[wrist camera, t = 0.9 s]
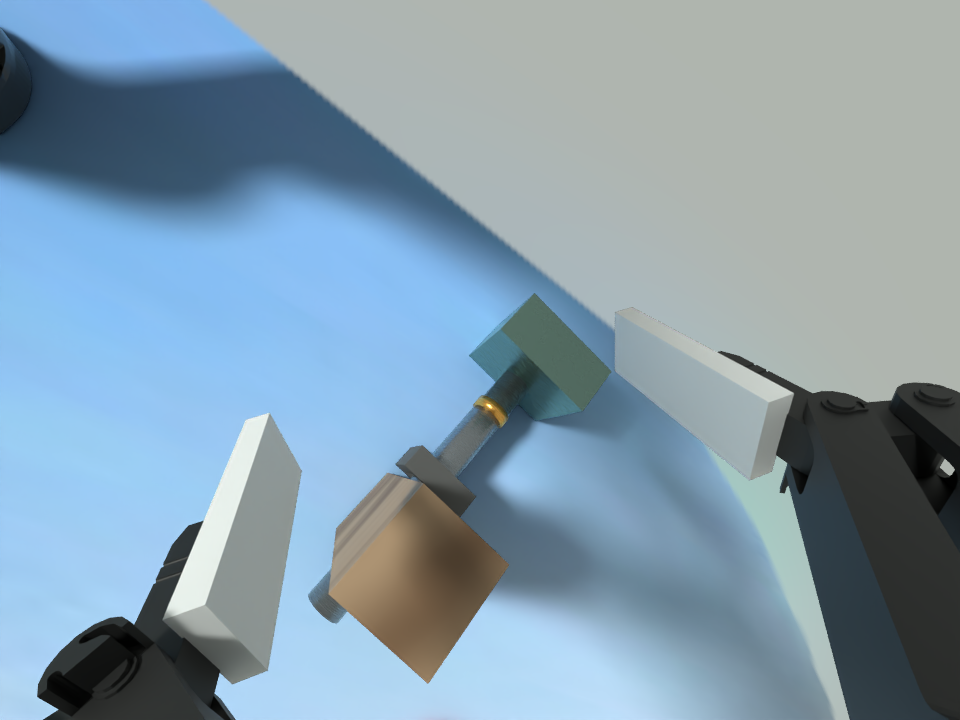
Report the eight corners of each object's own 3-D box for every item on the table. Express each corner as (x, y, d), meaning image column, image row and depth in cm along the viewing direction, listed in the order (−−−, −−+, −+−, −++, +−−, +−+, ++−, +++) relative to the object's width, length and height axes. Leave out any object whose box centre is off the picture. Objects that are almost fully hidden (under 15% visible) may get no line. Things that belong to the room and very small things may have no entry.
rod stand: (280, 552, 32) (257, 585, 23) (498, 325, 43) (534, 293, 35) (369, 633, 32) (378, 692, 24) (561, 388, 44) (611, 371, 35)
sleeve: (336, 528, 33) (328, 594, 17) (387, 472, 35) (423, 483, 19) (387, 575, 33) (428, 684, 17) (435, 517, 36) (509, 564, 20)
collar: (395, 464, 36) (404, 464, 30) (410, 447, 36) (422, 445, 31) (442, 508, 36) (459, 517, 30) (456, 491, 37) (476, 496, 31)
